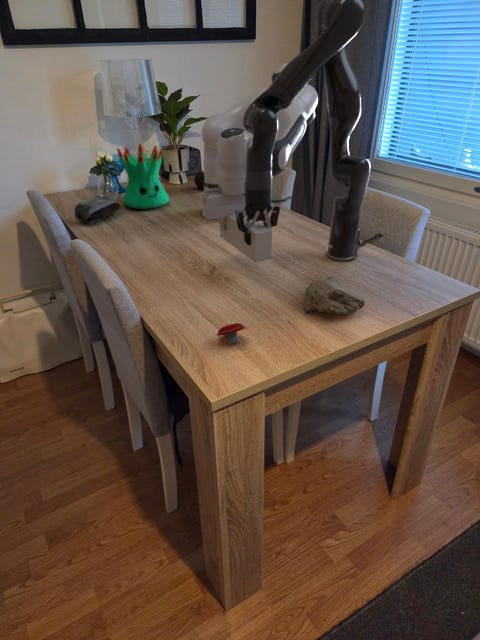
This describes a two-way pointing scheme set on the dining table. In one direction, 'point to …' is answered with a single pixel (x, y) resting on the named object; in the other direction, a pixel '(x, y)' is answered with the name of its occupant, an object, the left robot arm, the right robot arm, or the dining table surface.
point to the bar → (259, 239)
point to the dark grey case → (95, 209)
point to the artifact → (331, 297)
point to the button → (231, 331)
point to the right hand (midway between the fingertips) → (257, 242)
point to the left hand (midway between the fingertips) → (232, 228)
